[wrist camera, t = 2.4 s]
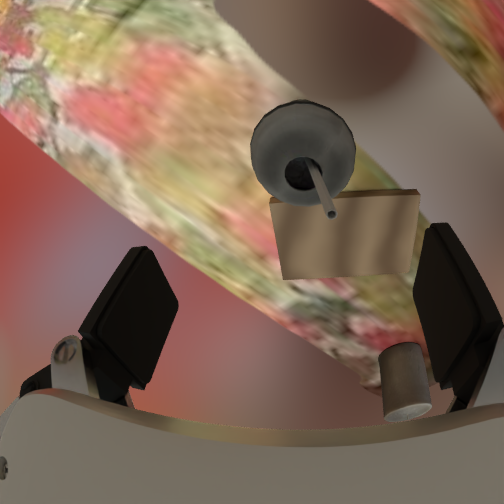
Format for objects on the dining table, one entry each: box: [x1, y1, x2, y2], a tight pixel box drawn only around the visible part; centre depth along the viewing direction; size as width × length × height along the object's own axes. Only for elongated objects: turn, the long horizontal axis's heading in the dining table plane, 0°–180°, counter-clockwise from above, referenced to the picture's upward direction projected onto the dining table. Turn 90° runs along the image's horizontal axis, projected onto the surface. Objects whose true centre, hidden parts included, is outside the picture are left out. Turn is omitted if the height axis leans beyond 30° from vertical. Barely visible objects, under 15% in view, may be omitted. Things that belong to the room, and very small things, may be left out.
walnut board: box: [269, 189, 420, 280], centre depth 34 cm, size 18×12×2 cm, turn 102°
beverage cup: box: [250, 100, 356, 220], centre depth 19 cm, size 7×7×20 cm
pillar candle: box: [378, 342, 432, 422], centre depth 44 cm, size 10×10×15 cm
